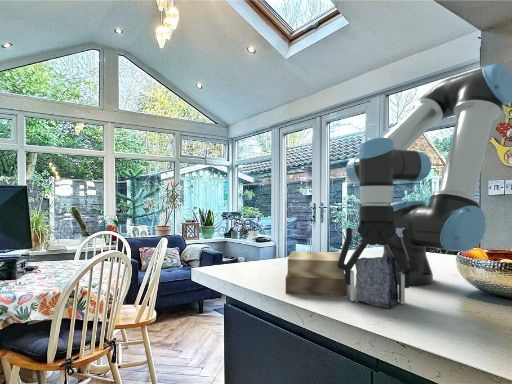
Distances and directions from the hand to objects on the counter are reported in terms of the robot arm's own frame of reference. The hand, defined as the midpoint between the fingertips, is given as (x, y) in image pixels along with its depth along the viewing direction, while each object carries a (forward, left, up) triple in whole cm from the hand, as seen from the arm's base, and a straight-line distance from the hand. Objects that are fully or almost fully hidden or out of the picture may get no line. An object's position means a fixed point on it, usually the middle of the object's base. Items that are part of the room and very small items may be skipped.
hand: (376, 300), depth 80 cm
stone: (0, 0, -1) cm, 1 cm away
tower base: (+14, -11, -1) cm, 18 cm away
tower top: (+14, -11, +4) cm, 18 cm away
